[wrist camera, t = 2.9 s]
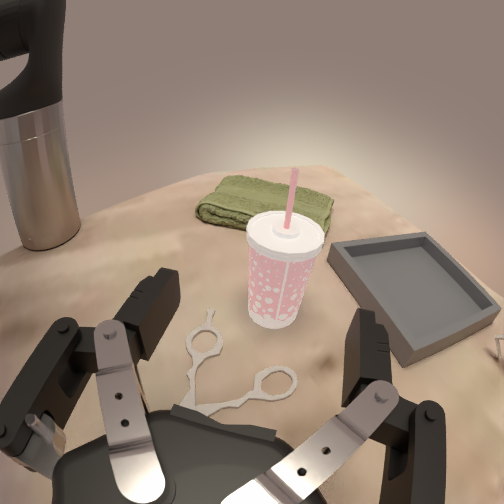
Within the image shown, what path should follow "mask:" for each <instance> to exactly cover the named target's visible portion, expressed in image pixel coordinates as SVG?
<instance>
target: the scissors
mask: <svg viewBox="0 0 504 504" xmlns="http://www.w3.org/2000/svg"><path fill="white" fill-rule="evenodd" d="M214 313H215V310H214V309H211V308H209V309H208V310H207V315H208V316H207V320H206V325H201V326H199V327H197V328H195V329H193V330H192V331H191V332H190V333H189V335H188V336H187V337H186V348H187V351H188V353H189V354H190V356H191V357H192V359H193V367H192V368H191V369H190V370H189V371H188V372H187V376H188V378H189V381H190V390H189V392H188V393H187V394H186V396H185V397H184V399H183V400H182V402H181V403H180V405H179V406H182V407H186V408H189V409H192V410H196V411H199V412H200V413H202V414H204V415H206V416H207V417H209V416H211V415H213V414H215V413H216V412H218V411H219V410H221V409H225V408H239V407H240V406H242V405H243V404H244V403H245V402H246V401H248V400H264V401H278V400H282V399H285V398H287V397H289V396H290V395H291V394H292V393H293V392H294V390H295V389H296V386H297V383H298V382H297V376H296V374H295V372H294V371H293V370H292V369H290V368H287V367H285V366H272V367H269V368H266V369H263V370H262V371H260V372H259V373H257V374H256V375H255V378H254V389H253V390H252V391H249V392H248V393H247V394H246V395H245V396H244V397H242V398H240V399H237V400H233V401H229V402H223V403H210V404H202V405H197V406H196V400H195V375H196V372H197V369H198V368H199V367H200V365H201V364H202V363H203V362H204V361H205V360H206V359H209V358H212V357H215V356H219V355H220V353H221V350H222V348H223V339H222V335H221V333H220V331H219V330H218V329H216V328H214V327H213V326H212V317H213V316H214ZM201 332H211V333H213V334H214V335H215V336H216V337H217V344H216V345H215V346H214V348H213V349H211V350H210V351H209V352H204V353H199V352H197V351H196V350H195V349H193V348H192V341H193V339H194V338H195V337H196V336H197V335H198V334H199V333H201ZM276 372H283V373H285V374H287V375H288V376H290V377H291V379H292V386H291V388H290V389H289V390H288V391H287V392H286V393H284V394H279V395H269V394H267V393H265V392H263V391H262V389H261V382H262V381H263V380H264V379H265V378H266V377H267V376H269V375H270V374H272V373H276Z"/></svg>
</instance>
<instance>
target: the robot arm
mask: <svg viewBox="0 0 504 504" xmlns="http://www.w3.org/2000/svg"><path fill="white" fill-rule="evenodd" d="M65 10H66V0H0V61H3V60H6V59H10V58H13V57H16V56H20V55H23V54H27V53H29V59H28V63H27V65H26V67H25V68H24V70H23V71H22V72H21V73H20V74H19V75H18V77H16V79H14V80H13V81H12V82H11V83H10V84H8V85H7V86H6V87H4V88H3V89H1V90H0V163H1V168H2V173H3V177H4V182H5V186H6V190H7V194H8V198H9V202H10V205H11V209H12V212H13V216H14V219H15V223H16V226H17V229H18V232H19V235H20V238H21V241H22V244H23V245H24V246H25V247H26V248H28V249H31V250H44V249H49V248H53V247H56V246H58V245H60V244H62V243H64V242H66V241H67V240H69V239H70V238H71V237H73V236H74V235H75V234H76V233H77V231H78V230H79V228H80V218H79V213H78V208H77V203H76V199H75V192H74V187H73V181H72V175H71V169H70V163H69V155H68V149H67V140H66V131H65V123H64V113H63V100H62V45H63V33H64V22H65ZM179 303H180V285H179V274H178V271H176V270H172V269H167V268H163V267H162V268H160V269H159V270H158V272H157V273H156V275H155V276H154V277H152V276H148V277H146V278H145V279H143V280H142V281H140V282H139V284H138V285H137V286H136V288H135V289H134V291H133V292H132V293H131V295H130V297H128V299H127V300H126V301H125V303H124V304H123V306H122V307H121V308H120V310H119V311H118V312H117V314H116V315H115V317H114V318H113V319H112V320H106V321H103V322H101V323H100V324H99V325H98V326H97V327H79V326H78V323H77V322H76V320H74V319H73V318H70V317H64V318H60V319H58V320H57V321H55V322H54V323H53V324H52V326H51V327H50V328H49V330H48V331H47V333H46V334H45V335H44V337H43V338H42V340H41V341H40V343H39V344H38V346H37V347H36V348H35V350H34V351H33V353H32V354H31V356H30V357H29V359H28V360H27V362H26V363H25V365H24V366H23V368H22V370H21V371H20V373H19V374H18V376H17V377H16V379H15V381H14V382H13V384H12V385H11V387H10V389H9V390H8V392H7V394H6V395H5V397H4V399H3V400H2V402H1V404H0V450H1V451H2V452H3V453H4V454H5V455H6V456H8V457H9V458H11V459H12V460H13V461H15V462H16V463H18V464H19V465H21V466H23V467H25V468H26V469H28V470H29V471H32V472H38V473H40V474H41V475H43V476H45V477H47V478H48V479H50V480H52V487H53V497H52V504H327V502H326V500H325V499H324V497H323V495H322V494H321V492H320V490H319V489H318V487H319V486H320V485H321V484H322V483H323V482H324V481H325V480H326V479H328V478H329V477H330V476H331V475H332V474H333V473H334V472H335V471H336V470H337V469H338V468H339V467H340V466H341V465H342V464H343V463H344V462H345V461H346V460H347V459H348V458H349V457H350V456H351V455H352V454H353V453H354V452H355V451H356V450H357V449H358V448H359V447H360V446H361V445H362V444H363V443H364V442H365V441H366V440H367V439H368V438H370V439H372V440H375V441H377V442H379V443H382V444H384V445H386V452H385V462H384V471H383V479H382V487H381V494H380V500H379V504H445V488H446V423H445V413H444V410H443V408H442V407H441V406H440V405H439V404H438V403H436V402H434V401H431V400H426V401H423V402H421V403H420V404H419V405H417V404H415V403H413V402H410V401H408V400H406V399H404V398H402V397H401V396H399V394H398V391H397V389H396V388H395V387H394V386H393V384H392V373H391V358H390V346H389V335H388V332H387V331H386V329H385V327H384V325H383V324H377V323H376V320H375V312H374V311H372V310H366V309H360V308H358V309H357V310H356V312H355V315H354V317H353V320H352V322H351V325H350V327H349V330H348V332H347V335H346V340H345V355H344V375H343V391H342V405H341V407H345V409H344V410H343V411H342V412H341V413H340V414H339V415H335V416H334V417H333V418H331V419H330V420H329V421H328V422H327V423H326V424H325V425H324V426H322V427H321V428H320V429H319V430H318V431H317V432H316V433H314V434H313V435H312V436H311V437H310V438H308V439H307V440H306V441H305V442H304V443H302V444H301V445H300V446H299V447H298V448H296V449H295V450H294V449H293V448H292V447H291V446H290V445H289V444H287V443H286V442H285V441H283V440H281V439H280V438H277V437H275V435H276V431H277V430H273V429H268V428H263V427H258V426H254V425H226V424H221V423H218V422H217V421H215V420H213V419H211V418H209V417H207V416H206V415H204V414H202V413H200V412H199V411H196V410H192V409H189V408H186V407H182V406H179V405H176V404H174V405H173V407H172V409H171V410H158V411H153V412H150V409H149V406H148V403H147V400H146V397H145V393H144V390H143V386H142V382H141V378H140V374H139V370H138V367H137V364H138V362H139V360H140V359H143V360H146V361H149V359H150V357H151V355H152V354H153V352H154V350H155V348H156V346H157V345H158V343H159V341H160V339H161V337H162V336H163V334H164V332H165V330H166V328H167V327H168V325H169V323H170V321H171V319H172V318H173V316H174V314H175V312H176V311H177V309H178V307H179ZM92 373H96V381H97V388H98V394H99V400H100V405H101V411H102V416H103V421H104V426H105V431H106V434H105V435H103V436H101V437H99V438H97V439H95V440H93V441H91V442H88V443H86V444H84V445H82V446H80V447H78V448H75V449H73V450H71V451H69V452H67V453H65V454H64V450H65V444H66V436H65V433H64V432H63V429H64V427H65V425H66V423H67V421H68V419H69V417H70V415H71V413H72V411H73V409H74V407H75V405H76V403H77V401H78V399H79V398H80V396H81V394H82V392H83V390H84V388H85V386H86V384H87V382H88V381H89V379H90V377H91V375H92Z"/></svg>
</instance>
